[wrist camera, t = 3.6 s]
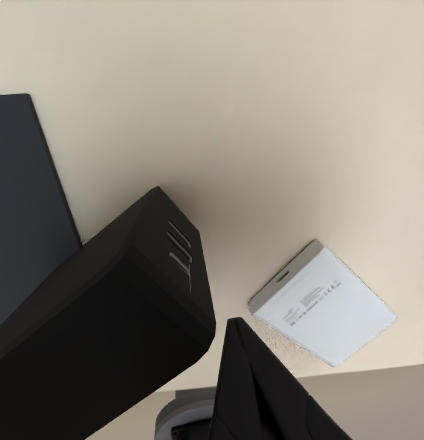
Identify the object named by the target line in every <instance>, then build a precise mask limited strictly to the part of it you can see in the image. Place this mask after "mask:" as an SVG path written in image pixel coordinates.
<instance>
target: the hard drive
mask: <svg viewBox="0 0 424 440" xmlns="http://www.w3.org/2000/svg"><path fill="white" fill-rule="evenodd" d="M248 307H249V309H250V312H251V314H252V315H253V316H255V317H257V318H258V319H260V320H261V321H263V322H264V323H266V324H267V325H269V326H270V327H272V328H273V329H275V330H276V331H278V332H279V333H281V334H282V335H284V336H286V337H287V338H289V339H290V340H292V341H293V342H295V343H296V344H298V345H299V346H301V347H303V348H304V349H306V350H307V351H309V352H310V353H312V354H313V355H315V356H316V357H318V358H319V359H321V360H323V361H324V362H326V363H327V364H329V365H330V366H332V367H337V366H339V365H340V364H342V363H343V362H344V361H345V360H347V359H348V358H349V357H350V356H352V355H353V354H354V353H355V352H357V351H358V350H359V349H361V348H362V347H363V346H364V345H366V344H367V343H368V342H369V341H371V340H372V339H373V338H375V337H376V336H377V335H378V334H380V333H381V332H382V331H383V330H385V329H386V328H387V327H389V326H390V325H391V324H392V323H394V322H395V321H396V319H397V318H398V316H397V315H396V314H395V313H394V312H393V311H392V310H391V309H390V308H389V307H388V306H387V305H386V304H385V303H384V302H383V301H382V300H381V299H380V298H379V297H377V296H376V295H375V294H374V293H373V292H372V291H371V290H370V289H369V288H368V287H367V286H366V285H365V284H364V283H363V282H362V281H361V280H360V279H359V278H358V277H357V276H355V275H354V274H353V273H352V272H351V271H350V270H349V269H348V268H347V267H346V266H345V265H344V264H343V263H342V262H341V261H340V260H339V259H338V258H337V257H336V256H334V255H333V254H332V253H331V252H330V251H329V250H328V249H327V248H326V247H325V246H324V245H323V244H321V243H320V242H319V241H318V240H315V241H313V242H312V243H310V244H309V245H308V246H307V247H306V248H305V249H304V250H303V251H302V252H301V253H300V254H299V255H298V256H297V257H295V258H294V259H293V260H292V261H291V262H290V263H289V264H288V265H287V266H286V267H285V268H284V269H283V270H282V271H281V272H280V273H279V274H277V275H276V276H275V277H274V278H273V279H272V280H271V281H270V282H269V283H268V284H267V285H266V286H265V287H264V288H263V289H262V290H261V291H260V292H259V293H258V294H257V295H256V296H255V297H253V298H252V300H251V301H250V302H249V304H248Z"/></svg>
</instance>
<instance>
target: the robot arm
mask: <svg viewBox="0 0 424 440" xmlns="http://www.w3.org/2000/svg"><path fill="white" fill-rule="evenodd" d="M171 437H172V440H352V439H351V438H350V437H349V436H348V435H347V434H346V433H345V432H344V431H343V430H342V429H341V428H340V427H339V426H338V425H337V424H336V423H335V422H334V421H333V420H332V419H331V417H330V416H329V415H328V414H327V413H326V412H325V411H324V410H323V409H322V408H321V407H320V405H319V404H318V403H317V402H316V401H315V400H314V399H313V397H312V396H311V395H309V394H308V392H307V391H306V390H305V389H304V388H303V386H302V385H301V384H300V383H299V382H298V381H297V379H296V378H295V377H294V376H293V375H292V374H291V373H290V372H289V370H288V369H287V368H286V367H285V366H284V365H283V364H282V362H281V361H280V360H279V359H278V358H277V357H276V356H275V355H274V353H273V352H272V351H271V350H270V349H269V348H268V347H267V345H266V344H265V343H264V342H263V341H262V340H261V339H260V338H259V336H258V335H257V334H256V333H255V332H254V331H253V330H252V328H251V327H250V326H249V325H248V324H247V323H246V322H245V321H244V319H243V318H242V317H236V318H229V319H228V320H227V326H226V332H225V338H224V345H223V351H222V357H221V363H220V369H219V376H218V382H217V388H216V394H215V400H214V407H213V414H212V418H209V419H204V420H200V421H195V422H191V423H186V424H182V425H178V426H174V427H172V428H171Z"/></svg>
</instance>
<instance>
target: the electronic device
mask: <svg viewBox="0 0 424 440" xmlns="http://www.w3.org/2000/svg"><path fill="white" fill-rule="evenodd" d="M215 330H216V320H215V314H214V309H213V303H212V298H211V293H210V287H209V282H208V276H207V271H206V266H205V260H204V255H203V250H202V244H201V239H200V233H199V231H198V230H197V229H196V228H195V226H194V225H193V224H192V223H191V222H190V221H189V220H188V219H187V218H186V216H185V215H184V214H183V213H182V212H181V211H180V210H179V209H178V207H177V206H176V205H175V204H174V203H173V202H172V201H171V200H170V198H169V197H168V196H167V195H166V194H165V193H164V192H163V191H162V190H161V188H160V187H159V186H157V187H155V188H153V189H152V190H150V191H149V192H148V193H146V194H145V195H144V196H143V197H142V198H140V199H139V200H138V201H137V202H135V203H134V204H133V205H132V206H131V207H129V208H128V209H127V210H126V211H125V212H123V213H122V214H121V215H120V216H119V217H117V218H116V219H115V220H114V221H113V222H111V223H110V224H109V225H108V226H106V227H105V228H104V229H103V230H102V231H100V232H99V233H98V234H97V235H96V236H94V237H93V238H92V239H91V240H90V241H88V242H87V243H86V244H85V245H84V246H82V247H81V248H80V249H79V250H77V251H76V252H75V253H74V254H73V255H71V256H70V257H69V258H68V259H67V260H65V261H64V262H63V263H62V264H61V265H59V266H58V267H57V268H56V269H55V270H54V271H53V272H51V273H50V274H49V275H48V276H47V277H46V278H45V279H44V281H43V282H42V283H41V284H40V285H39V286H38V287H37V288H36V289H35V290H34V291H33V292H32V293H31V294H30V295H29V296H28V297H27V298H26V299H25V300H24V301H23V302H22V303H21V304H20V305H19V307H18V308H17V309H16V310H15V311H14V312H13V313H12V314H11V315H10V316H9V317H8V318H7V319H6V320H5V321H4V322H3V323H2V324H1V325H0V440H85V439H86V438H87V437H89V436H91V435H92V434H93V433H95V432H96V431H98V430H99V429H101V428H102V427H104V426H105V425H107V424H108V423H109V422H111V421H112V420H114V419H115V418H117V417H118V416H119V415H121V414H122V413H124V412H125V411H127V410H128V409H130V408H131V407H133V406H134V405H135V404H137V403H138V402H140V401H141V400H143V399H144V398H146V397H147V396H149V395H150V394H151V393H153V392H154V391H156V390H157V389H159V388H160V387H162V386H163V385H165V384H166V383H167V382H169V381H170V380H172V379H173V378H175V377H176V376H178V375H179V374H180V373H182V372H183V371H185V370H186V369H188V368H189V367H191V366H192V365H194V364H195V363H196V362H197V361H198V360H199V359H200V358H201V357H202V356H203V355H204V354H205V353H206V352H207V351H208V350H209V348H210V345H211V343H212V341H213V339H214V337H215Z"/></svg>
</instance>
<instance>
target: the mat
mask: <svg viewBox="0 0 424 440" xmlns="http://www.w3.org/2000/svg"><path fill="white" fill-rule="evenodd" d="M81 247H82V245H81V242H80V239H79V236H78V233H77V230H76V227H75V225H74V222H73V219H72V216H71V213H70V210H69V207H68V204H67V202H66V199H65V196H64V193H63V190H62V187H61V184H60V181H59V179H58V176H57V173H56V170H55V167H54V164H53V161H52V158H51V156H50V153H49V150H48V147H47V144H46V141H45V138H44V135H43V133H42V130H41V127H40V124H39V121H38V118H37V115H36V112H35V110H34V107H33V104H32V101H31V98H30V95H29V94H11V95H0V325H1V324H2V323H3V322H4V321H5V320H6V319H7V318H8V317H9V316H10V315H11V314H12V313H13V312H14V311H15V310H16V309H17V308H18V307H19V305H20V304H21V303H22V302H23V301H24V300H25V299H26V298H27V297H28V296H29V295H30V294H31V293H32V292H33V291H34V290H35V289H36V288H37V287H38V286H39V285H40V284H41V283H42V282H43V281H44V279H45V278H46V277H47V276H48V275H49V274H50V273H51V272H53V271H54V270H55V269H56V268H57V267H58V266H59V265H61V264H62V263H63V262H64V261H65V260H67V259H68V258H69V257H70V256H71V255H73V254H74V253H75V252H76V251H77V250H79V249H80V248H81Z"/></svg>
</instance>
